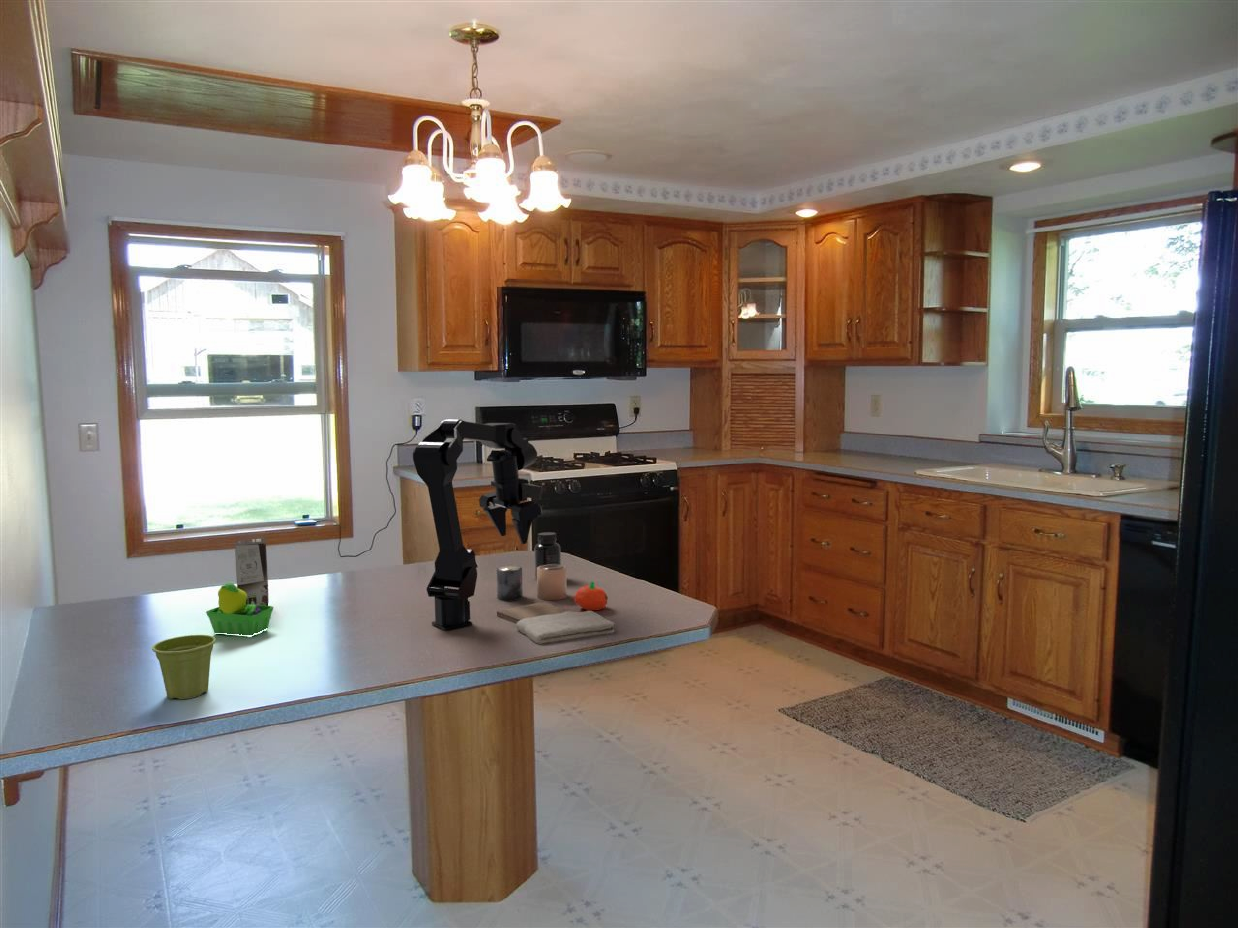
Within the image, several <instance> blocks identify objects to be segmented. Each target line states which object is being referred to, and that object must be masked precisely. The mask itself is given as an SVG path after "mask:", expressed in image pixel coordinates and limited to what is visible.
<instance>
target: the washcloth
mask: <svg viewBox="0 0 1238 928" xmlns="http://www.w3.org/2000/svg"><path fill="white" fill-rule="evenodd" d="M515 624H516V625H515V628H516V629H517V631H519V632H520V633H522V635H526V636H527V637H528V639H530V640H531V641H533V642H534V643H535V644H540V645H541V644H546V643H547V644H548V643H554V642H559V641H566V640H567V641H568V640H574V639H578V638H586V637H591V636H599V635H605V634H608V635H609V634H614V633H615V628H614V626H615V622H614V621H613V622H612V621H611V620H609V619H607V618H605V617H603V616H602V615H600V614H598V613H597V612H595V611H593V610H586V611H570V610H568V611H566V612H563V613H558V614H551V615H542V616H537V617H532V618H524V619H522V620H520V621H518V622H517V623H515Z"/></svg>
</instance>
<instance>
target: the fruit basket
mask: <svg viewBox="0 0 1238 928" xmlns="http://www.w3.org/2000/svg"><path fill="white" fill-rule="evenodd" d="M217 595H218V606H217V607H215V608H211V609H208V610H206V611H205V613H206V615H207V617H208V620H209V623H210V624H211V627H212V630H213V632H214V634H215V633H227V634H239V635H241V634H242V635H253V634H254V633H258V632H260V631H262V630H264V629H266V628H268V629H269V626H270V625H269V624H270V621H271V617H272V613H273V611H274V608H275V606H272V605H269V606H262V605H255V604H254V603H252V604H251V605H248V604H246V600H247V594H246V593H245V592H244V591H243V590H240V589H238V588H237V585H235V584H234V583H233V582H227V583H225V584H224V585H221V587H220V588H219V590H218V592H217Z"/></svg>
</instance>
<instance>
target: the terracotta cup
mask: <svg viewBox="0 0 1238 928" xmlns="http://www.w3.org/2000/svg"><path fill="white" fill-rule="evenodd" d="M567 584H568V582H567V566H566V565H562V564H561V565H543V566H539V567H537V580H536V592H537V593H536V594H537V599H539V600H543V601H558V600H562V599H566V598H567V597H568V595H567V593H568V592H567V588H568V587H567V586H568V585H567Z"/></svg>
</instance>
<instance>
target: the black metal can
mask: <svg viewBox="0 0 1238 928" xmlns="http://www.w3.org/2000/svg"><path fill="white" fill-rule="evenodd" d="M523 589H524V588H523V567H522V566H518V565H505V566H499V567H497V568H496V592H497V594H496V596H497V599H498V600H500V601H508V602H510V601H511V602H512V601H518V600H521V599H522V598H523V597H524V596H523V595H524V593H523V591H524V590H523Z"/></svg>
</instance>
